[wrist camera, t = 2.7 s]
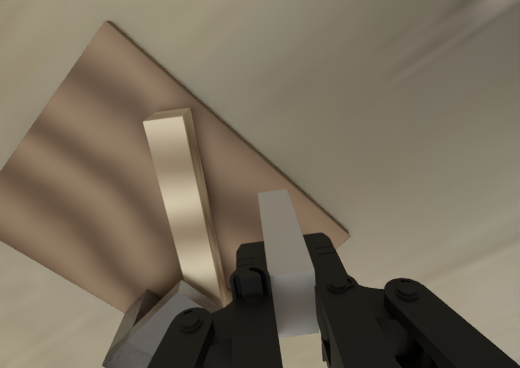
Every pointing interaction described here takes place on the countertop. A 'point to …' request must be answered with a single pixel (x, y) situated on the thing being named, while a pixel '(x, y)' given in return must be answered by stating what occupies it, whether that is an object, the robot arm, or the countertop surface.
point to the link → (187, 201)
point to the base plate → (129, 179)
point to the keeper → (151, 324)
